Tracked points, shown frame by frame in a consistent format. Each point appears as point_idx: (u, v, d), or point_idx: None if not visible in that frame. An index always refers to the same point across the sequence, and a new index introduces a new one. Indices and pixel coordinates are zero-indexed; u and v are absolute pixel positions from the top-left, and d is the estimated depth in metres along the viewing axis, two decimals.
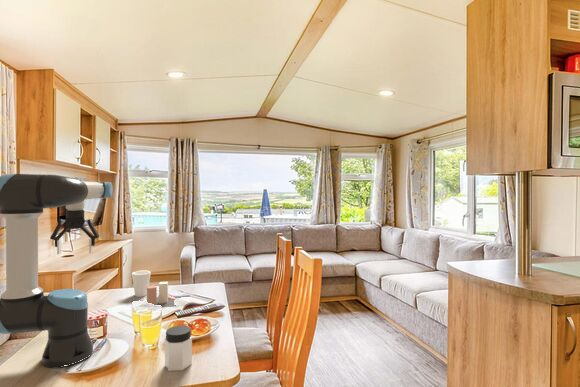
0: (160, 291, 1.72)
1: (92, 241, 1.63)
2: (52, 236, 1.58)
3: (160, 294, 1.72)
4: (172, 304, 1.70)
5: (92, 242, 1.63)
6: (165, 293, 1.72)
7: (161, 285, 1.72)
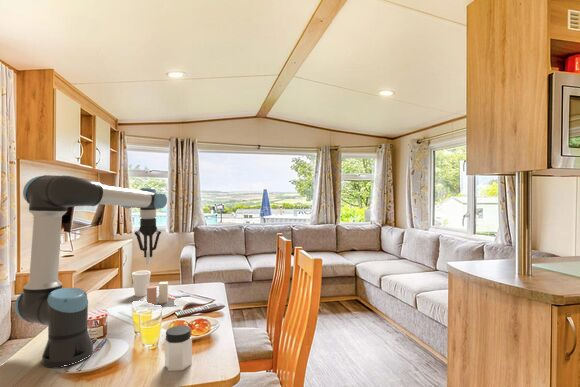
0: (160, 291, 1.72)
1: (150, 253, 1.71)
2: (141, 247, 1.70)
3: (160, 294, 1.72)
4: (172, 304, 1.70)
5: (150, 254, 1.71)
6: (165, 293, 1.72)
7: (161, 285, 1.72)
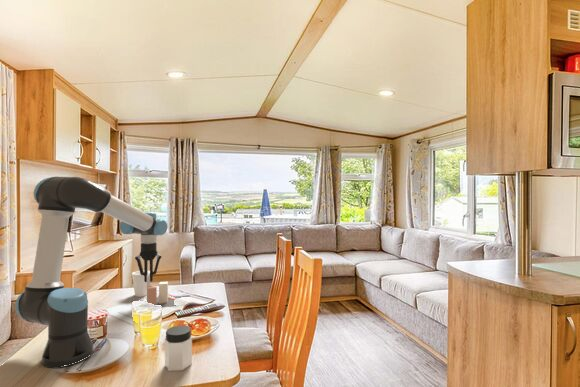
0: (160, 291, 1.72)
1: (150, 277, 1.72)
2: (141, 272, 1.70)
3: (160, 294, 1.72)
4: (172, 304, 1.70)
5: (150, 278, 1.72)
6: (165, 293, 1.72)
7: (161, 285, 1.72)
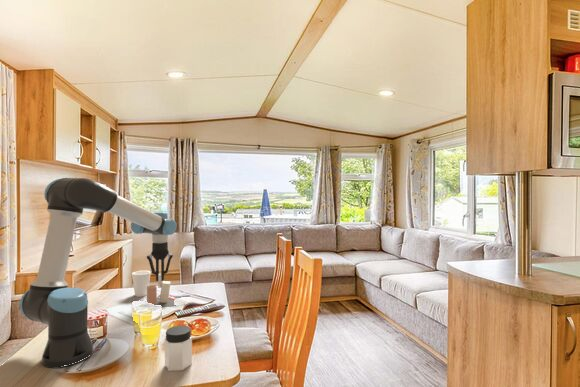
0: (162, 290, 1.72)
1: (162, 276, 1.73)
2: (153, 271, 1.71)
3: (162, 293, 1.72)
4: (172, 304, 1.70)
5: (162, 277, 1.73)
6: (166, 293, 1.73)
7: (164, 284, 1.72)
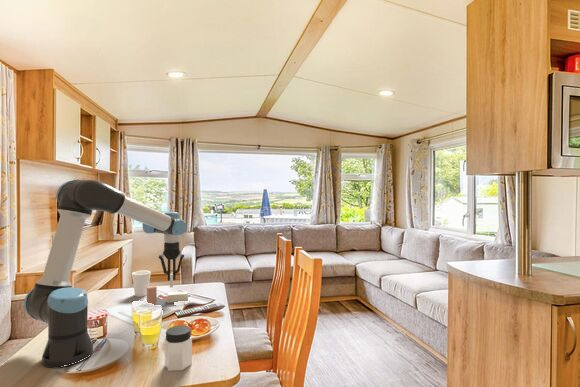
0: (179, 295, 1.74)
1: (173, 276, 1.75)
2: (164, 271, 1.73)
3: (177, 296, 1.74)
4: (172, 304, 1.70)
5: (173, 277, 1.75)
6: (177, 300, 1.74)
7: (186, 296, 1.75)
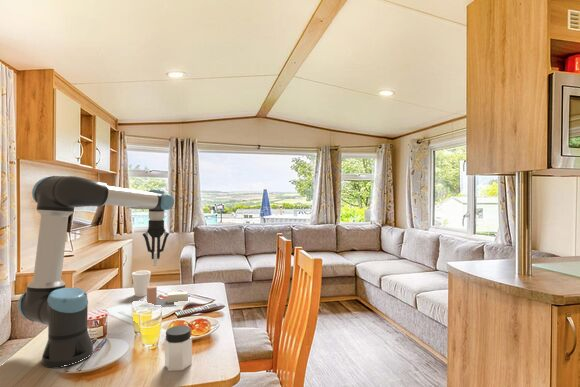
0: (179, 295, 1.74)
1: (158, 254, 1.72)
2: (148, 249, 1.70)
3: (177, 296, 1.74)
4: (172, 304, 1.70)
5: (158, 255, 1.72)
6: (177, 300, 1.74)
7: (186, 296, 1.75)
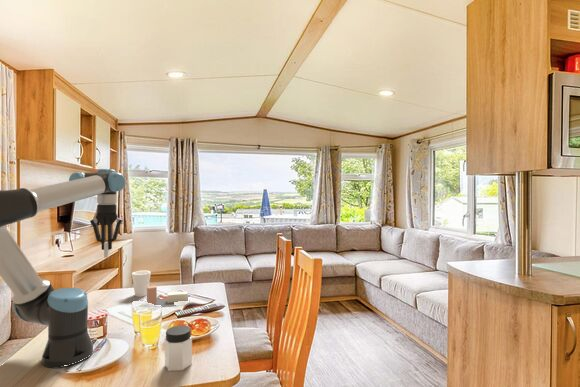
0: (179, 295, 1.74)
1: (109, 244, 1.48)
2: (97, 238, 1.46)
3: (177, 296, 1.74)
4: (172, 304, 1.70)
5: (109, 245, 1.48)
6: (177, 300, 1.74)
7: (186, 296, 1.75)
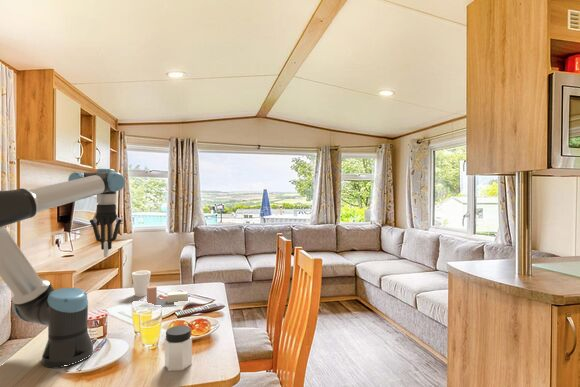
0: (179, 295, 1.74)
1: (109, 244, 1.48)
2: (97, 238, 1.46)
3: (177, 296, 1.74)
4: (172, 304, 1.70)
5: (109, 245, 1.48)
6: (177, 300, 1.74)
7: (186, 296, 1.75)
